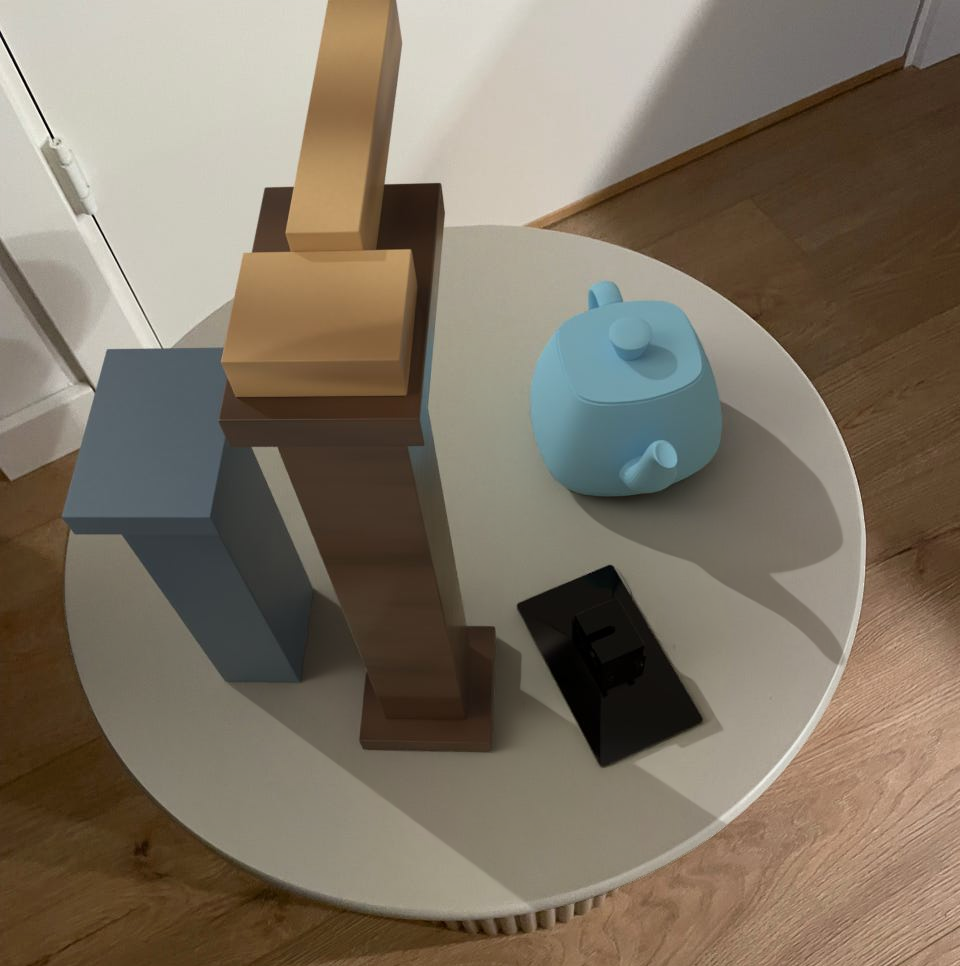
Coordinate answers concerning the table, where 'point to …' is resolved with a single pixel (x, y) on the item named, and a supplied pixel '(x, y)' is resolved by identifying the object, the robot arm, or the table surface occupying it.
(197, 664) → the table surface
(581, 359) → the teapot
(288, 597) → the blue-grey tall block
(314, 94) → the mallet
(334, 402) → the dark wood pedestal
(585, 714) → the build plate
